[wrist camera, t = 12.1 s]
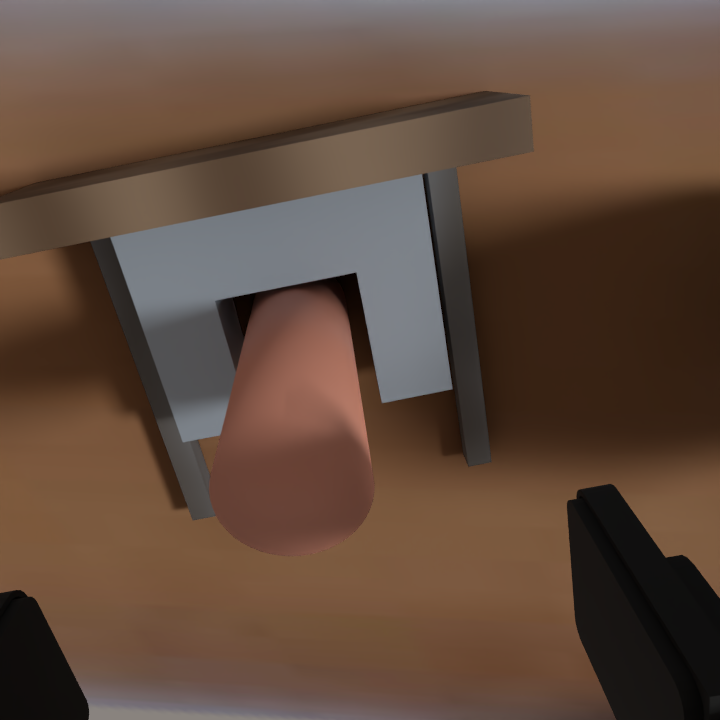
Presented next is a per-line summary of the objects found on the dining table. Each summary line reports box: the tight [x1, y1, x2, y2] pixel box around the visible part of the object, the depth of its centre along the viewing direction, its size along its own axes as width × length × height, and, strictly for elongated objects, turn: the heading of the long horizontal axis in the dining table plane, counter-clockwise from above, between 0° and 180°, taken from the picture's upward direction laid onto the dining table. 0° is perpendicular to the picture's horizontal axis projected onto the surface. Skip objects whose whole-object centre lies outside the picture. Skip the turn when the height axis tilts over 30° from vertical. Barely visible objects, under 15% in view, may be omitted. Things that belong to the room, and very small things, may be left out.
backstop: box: [0, 91, 534, 520], centre depth 23 cm, size 16×14×5 cm
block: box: [110, 174, 452, 442], centre depth 23 cm, size 10×8×3 cm
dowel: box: [209, 277, 374, 556], centre depth 20 cm, size 4×4×12 cm
